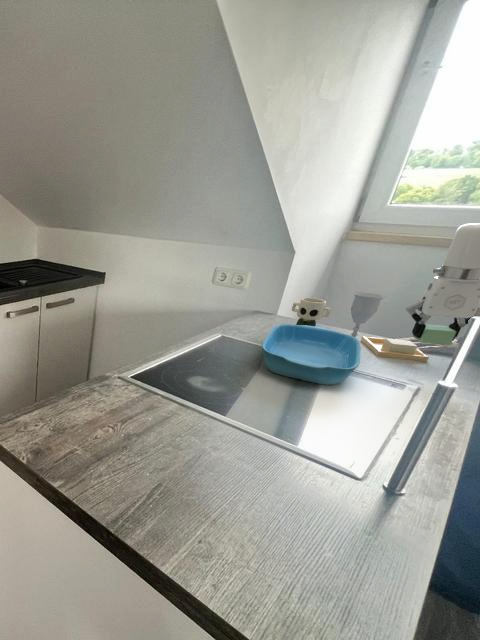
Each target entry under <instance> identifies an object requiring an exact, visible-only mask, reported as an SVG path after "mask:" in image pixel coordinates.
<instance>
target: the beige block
mask: <svg viewBox="0 0 480 640" xmlns="http://www.w3.org/2000/svg"><path fill="white" fill-rule="evenodd" d="M384 339H385V340H384V343H383V345H382V348H381V350H382V351H385V352H394V353H403V354H412V355H414V353H415V351H416V349H418V345H416V344H415V343H414V342H412V341H411V340H408V339H407V340H405V339H396V338H389V337H387V338H386V337H385V338H384Z"/></svg>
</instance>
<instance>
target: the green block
mask: <svg viewBox="0 0 480 640" xmlns="http://www.w3.org/2000/svg"><path fill="white" fill-rule="evenodd" d="M425 325H426V327H425V329H424V332H423V334H422V336H421V338H417V337H415V336H414V335H413V334H412V337H413V338H414V339H415V340H417V341H418V342H419V343H421V344H430V345H443V346H451V345H452V343H453V338H454V336H455V334H456V332H457V331H455V330H453V329H451V328H450V327H449V325H439V324H427V323H425Z"/></svg>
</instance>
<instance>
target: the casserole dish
mask: <svg viewBox="0 0 480 640" xmlns="http://www.w3.org/2000/svg"><path fill="white" fill-rule="evenodd" d="M361 349H362V348H361V342H360V340H359V339H358V338H357V337H353V336H351V334H347V333H343V332H340V331H336V330H333V329H329V328H325V327H320V326H316V327H315V326H307V325H296V324H288V323H285V324H283V323H282V324H278V325H275V326H274V327H272V329H271V330H270V332H269V333H268V335H266V337H265V339H263V342H262V345H261V350H262V358H263V363H264V366H265V367H266V368H267V369H268V370H269V371H270V372H272V373H274V374H277V375H280V376H284V377H288V378H291V379H295V380H300V381H304V382H308V383H313V384H319V385H326V386H331V385H337V384H339V383H341V382H343V381H345V380H346V379H347V378H348V377H349V376H350V375H351V374H352V373H353V372H354V371H355V369H357V368H358V367H359V365H360V364H361V363H360V362H361V352H362V351H361Z"/></svg>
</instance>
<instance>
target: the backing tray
mask: <svg viewBox="0 0 480 640" xmlns="http://www.w3.org/2000/svg"><path fill="white" fill-rule="evenodd" d="M384 340H385V338H384V337H373V336H364V335H362V336H361V339H360V341H361V342H362V343H363V344H364V345H365V346H366V347H367V348H368V349H369V350H370V351H371V352H372V353H373V354H374V355H376V357H381V358H390V359H399V360H405V361H406V360H407V361H416V362H424V363H426V362H428V361H429V358H430V356H428V355H427V354H425V353H424V352H423V351H421V350H420V349H419V348H417V349H416V351H415V353H414V355H412V354H403V353H394V352H385V351H382V350H381V348H382V345H383V343H384Z"/></svg>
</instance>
